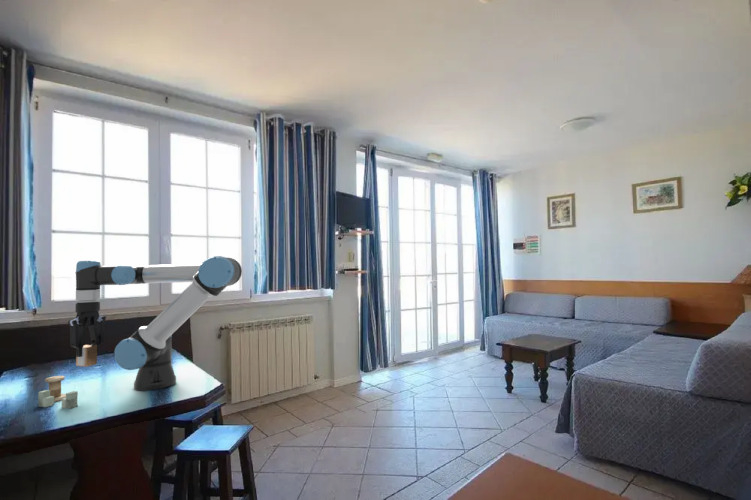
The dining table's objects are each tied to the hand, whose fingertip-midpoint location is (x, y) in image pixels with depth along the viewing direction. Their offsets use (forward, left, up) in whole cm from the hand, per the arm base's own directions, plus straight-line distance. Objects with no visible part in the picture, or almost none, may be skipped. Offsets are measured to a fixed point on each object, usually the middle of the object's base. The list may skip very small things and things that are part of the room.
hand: (87, 363), depth 148 cm
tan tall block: (0, 0, -1) cm, 1 cm away
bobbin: (+10, +4, -12) cm, 17 cm away
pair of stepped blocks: (+1, +10, -12) cm, 16 cm away
